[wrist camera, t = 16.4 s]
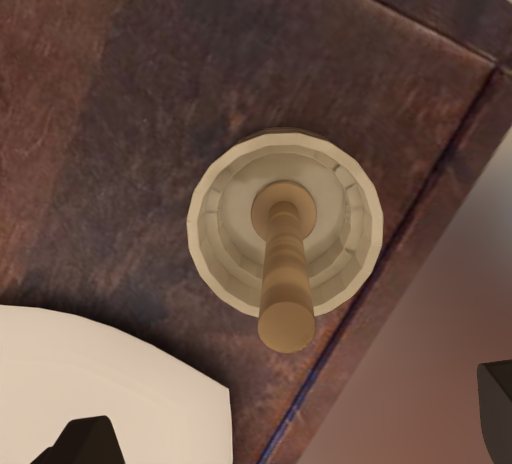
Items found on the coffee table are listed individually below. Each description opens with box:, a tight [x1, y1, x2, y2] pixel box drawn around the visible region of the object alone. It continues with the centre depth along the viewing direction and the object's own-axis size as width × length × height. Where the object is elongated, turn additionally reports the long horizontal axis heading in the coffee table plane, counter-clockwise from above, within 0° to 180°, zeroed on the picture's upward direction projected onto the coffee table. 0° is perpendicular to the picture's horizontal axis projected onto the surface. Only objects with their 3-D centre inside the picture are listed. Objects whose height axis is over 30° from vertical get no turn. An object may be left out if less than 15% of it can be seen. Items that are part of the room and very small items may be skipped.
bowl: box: [187, 127, 383, 317], centre depth 26 cm, size 10×10×6 cm
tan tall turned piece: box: [251, 180, 317, 353], centre depth 21 cm, size 4×4×15 cm
